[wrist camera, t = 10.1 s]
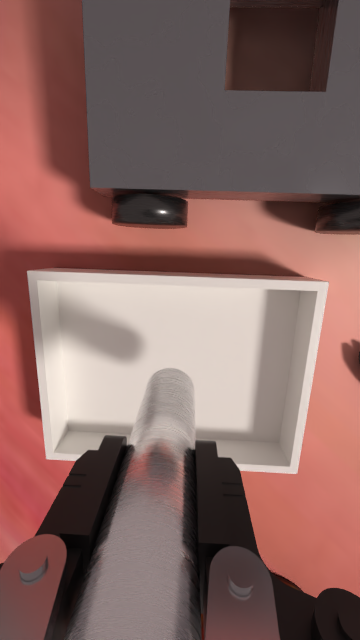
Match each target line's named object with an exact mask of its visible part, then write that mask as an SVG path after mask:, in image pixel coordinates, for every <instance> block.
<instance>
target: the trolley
mask: <svg viewBox="0 0 360 640" xmlns="http://www.w3.org/2000/svg"><path fill="white" fill-rule="evenodd" d="M230 7H287V8H320V11H319V19H318V27H317V35H316V43H315V50H314V58H313V66H312V74H311V82H310V90H309V92H300V91H236V90H225V75H226V59H227V43H228V27H229V11H230ZM82 11H83V34H84V57H85V80H86V103H87V126H88V149H89V172H90V188H92V189H93V190H95V191H96V192H98V193H99V194H101V195H103V196H114V197H112V224H115V225H119V226H126V227H137V228H155V229H175V228H185V227H187V213H188V202H187V201H186V200H184V199H181V198H185V199H221V200H256V201H292V202H328V203H336V204H330V205H325V206H322V207H320V208H318V214H317V221H316V228H315V232H316V233H323V234H360V0H82Z"/></svg>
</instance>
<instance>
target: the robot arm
mask: <svg viewBox="0 0 360 640" xmlns="http://www.w3.org/2000/svg"><path fill="white" fill-rule="evenodd" d="M126 448H127V438H126V436H113V435H105V436H104V438H103V440H102V442H101V445H100V447H99V449H98V450H87V451H86V452H85V453H84V454H83V455H82V456H81V457H80V458H79V459H77V460H76V462H75V464H74V466H73V468H72V469H71V471H70V473H69V476H68V477H67V479H66V480H65V482H64V484H63V487H62V488H61V489H60V491H59V493H58V495H57V497H56V499H55V500H54V502H53V504H52V506H51V508H50V510H49V511H48V513H47V515H46V517H45V519H44V520H43V522H42V524H41V526H40V528H39V530H38V531H37V533H36V535H35V536H34V537H33V538H30V539H28V540H27V541H25V542H23V543H22V544H21V545H19V546H18V547H17V548H16V549H15V550H14V551H13V552H12V553H11V554H10V555H9V556H8V558H7V559H6V561H5V562H4V563H1V564H0V640H63V639H64V636H65V633H66V630H67V627H68V624H69V621H70V618H71V615H72V612H73V609H74V606H75V603H76V600H77V597H78V594H79V591H80V587H81V584H82V581H83V578H84V575H85V572H86V569H87V566H88V563H89V560H90V558H91V555H92V552H93V548H94V545H95V542H96V539H97V536H98V533H99V530H100V527H101V524H102V521H103V518H104V515H105V512H106V509H107V506H108V503H109V500H110V497H111V494H112V490H113V487H114V484H115V481H116V478H117V475H118V472H119V469H120V466H121V463H122V460H123V457H124V454H125V451H126ZM195 478H196V523H197V565H198V568H199V573H200V602H201V614H203V623H204V640H360V598H359V597H358V596H356V595H354V594H353V593H351V592H349V591H346V590H344V589H339V588H329V589H326V590H324V591H322V592H321V593H320V594H319V596H318V597H317V598H315V597H313V596H310V595H308V594H306V593H304V592H301V591H299V590H297V589H295V588H292V587H290V586H288V585H286V584H285V583H283V582H282V581H280V580H279V579H278V578H277V577H275V576H274V575H273V574H272V573H271V572H270V570H269V569H268V568H267V567H266V565H265V564H264V562H263V561H262V559H261V557H260V554H259V552H258V549H257V545H256V540H255V536H254V531H253V527H252V522H251V518H250V514H249V509H248V505H247V500H246V498H245V491H244V487H243V483H242V478H241V474H240V470H239V468H238V467H237V465H236V464H235V463H234V461H233V460H232V458H228V457H218V453H217V445H216V441H205V440H196V441H195Z"/></svg>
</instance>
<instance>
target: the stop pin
mask: <svg viewBox="0 0 360 640" xmlns="http://www.w3.org/2000/svg"><path fill="white" fill-rule="evenodd" d="M195 441H196V427H195V392H194V384H193V382H192V380H191V378H190V377H189V376H188V375H187V374H186V373H185V372H183V371H181V370H179V369H175V368H165V369H161V370H159V371H157V372H156V373H154V374H153V375H152V376H151V377H150V379H149V381H148V383H147V387H146V390H145V393H144V396H143V399H142V402H141V405H140V408H139V411H138V414H137V417H136V420H135V423H134V426H133V429H132V432H131V435H130V438H129V441H128V444H127V448H126V451H125V454H124V457H123V460H122V463H121V466H120V469H119V472H118V475H117V478H116V481H115V484H114V487H113V490H112V494H111V497H110V500H109V503H108V506H107V509H106V512H105V515H104V518H103V521H102V524H101V527H100V530H99V533H98V536H97V539H96V542H95V545H94V548H93V552H92V555H91V558H90V560H89V563H88V566H87V569H86V572H85V575H84V578H83V581H82V584H81V587H80V591H79V594H78V597H77V600H76V603H75V606H74V609H73V612H72V615H71V618H70V621H69V624H68V627H67V630H66V633H65V636H64V639H63V640H202V637H201V602H200V573H199V568H198V565H197V523H196V478H195Z"/></svg>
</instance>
